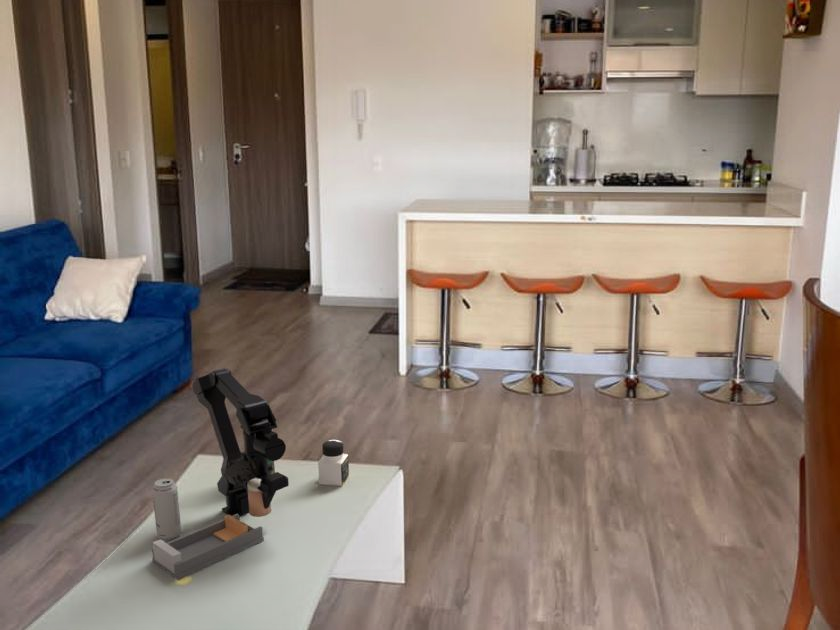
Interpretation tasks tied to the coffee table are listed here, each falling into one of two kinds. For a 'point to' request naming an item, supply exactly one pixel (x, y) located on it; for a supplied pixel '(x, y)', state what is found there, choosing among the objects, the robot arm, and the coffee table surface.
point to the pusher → (231, 529)
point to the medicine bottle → (333, 464)
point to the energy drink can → (166, 509)
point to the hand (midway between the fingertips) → (259, 504)
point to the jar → (256, 499)
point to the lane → (201, 549)
